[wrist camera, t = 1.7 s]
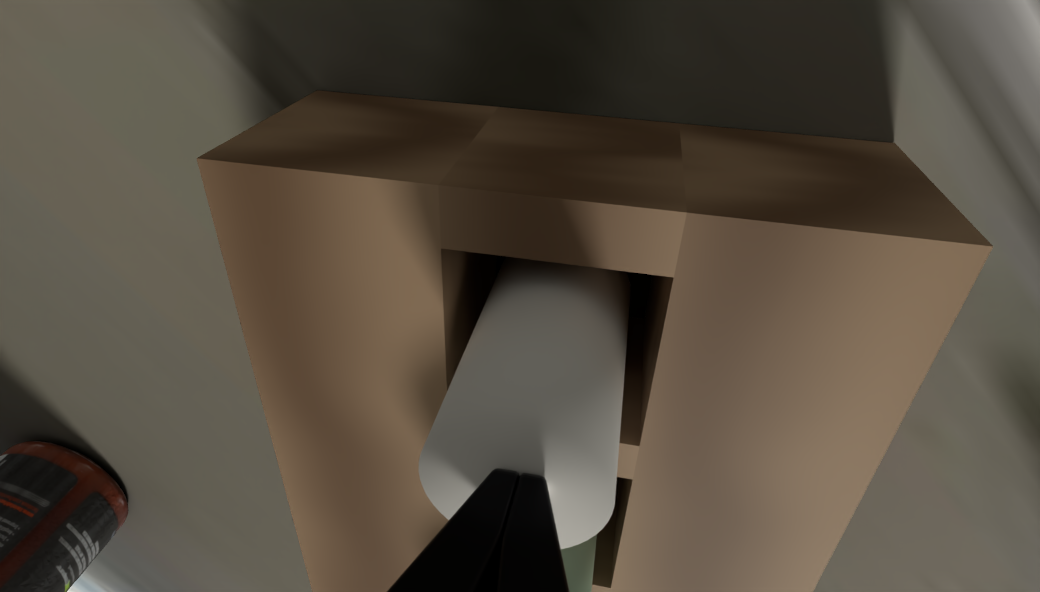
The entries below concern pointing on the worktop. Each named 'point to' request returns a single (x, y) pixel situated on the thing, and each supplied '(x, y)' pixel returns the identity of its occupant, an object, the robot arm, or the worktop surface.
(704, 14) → the worktop surface
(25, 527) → the supplement bottle
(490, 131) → the wooden plug holder
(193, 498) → the worktop surface
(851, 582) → the worktop surface
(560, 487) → the plug grey
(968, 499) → the worktop surface
